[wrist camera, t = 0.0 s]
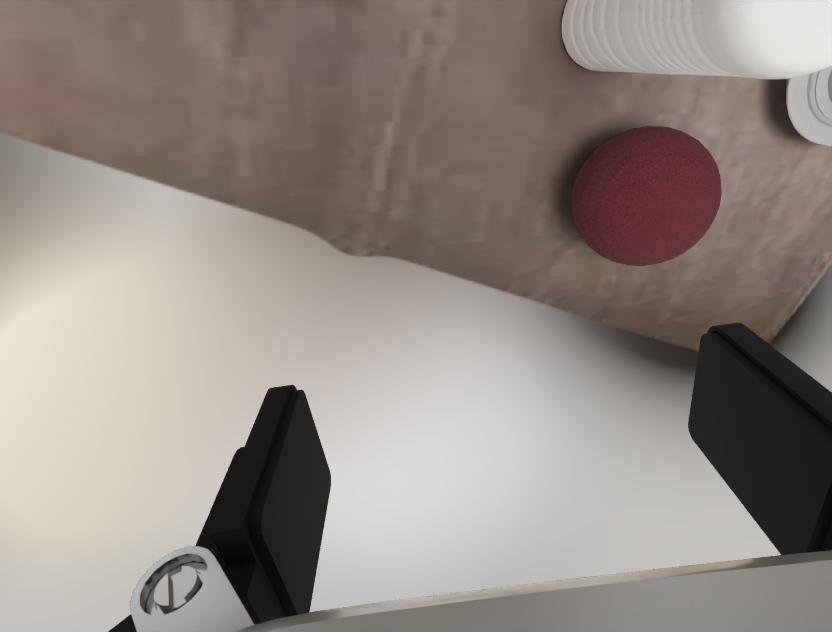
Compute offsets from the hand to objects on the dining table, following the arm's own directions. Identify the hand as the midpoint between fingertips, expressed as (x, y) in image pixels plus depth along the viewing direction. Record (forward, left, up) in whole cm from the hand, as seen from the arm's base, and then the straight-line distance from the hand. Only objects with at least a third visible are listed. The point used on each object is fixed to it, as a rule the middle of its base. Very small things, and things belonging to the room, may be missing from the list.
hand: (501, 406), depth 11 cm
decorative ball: (+4, +15, -31) cm, 35 cm away
